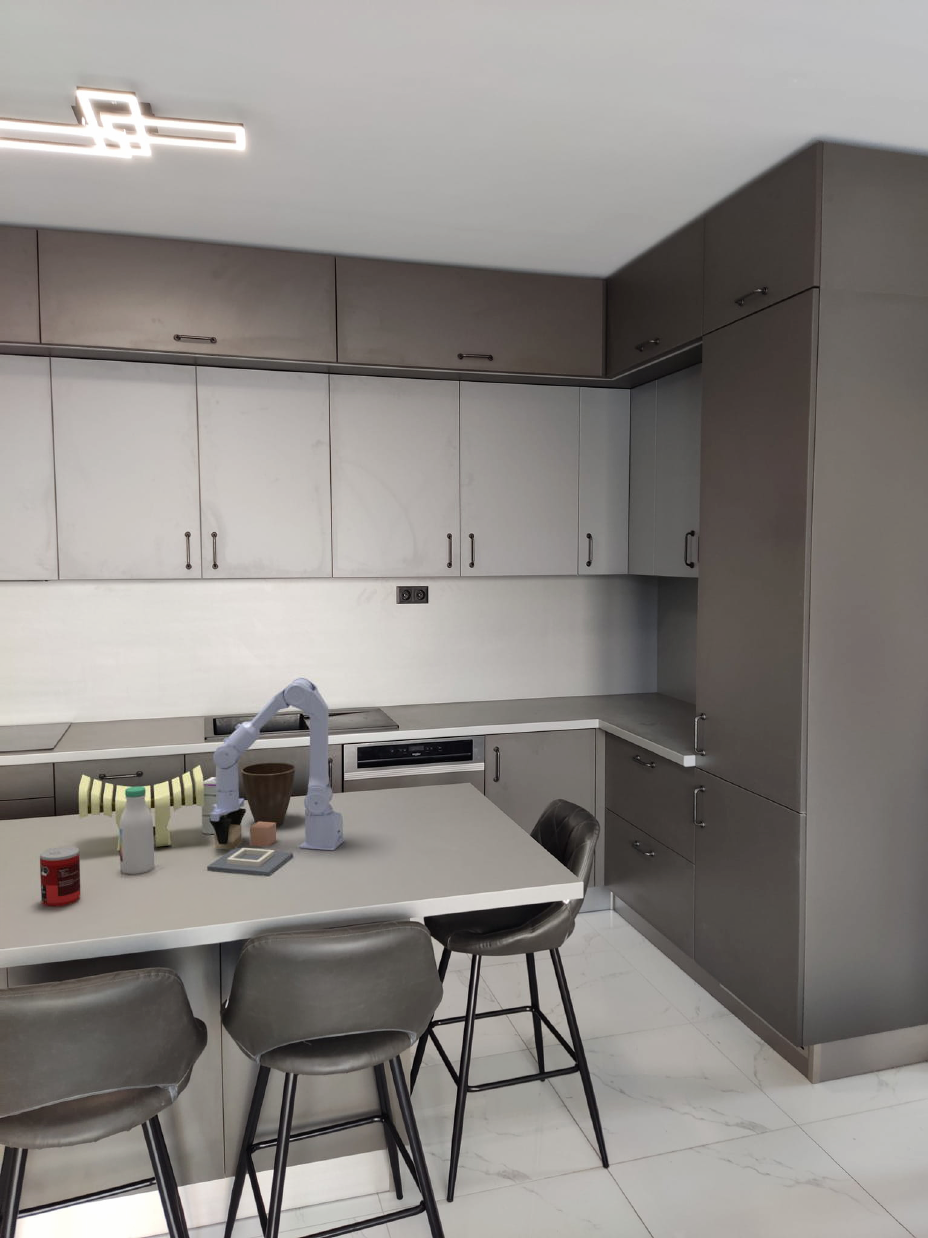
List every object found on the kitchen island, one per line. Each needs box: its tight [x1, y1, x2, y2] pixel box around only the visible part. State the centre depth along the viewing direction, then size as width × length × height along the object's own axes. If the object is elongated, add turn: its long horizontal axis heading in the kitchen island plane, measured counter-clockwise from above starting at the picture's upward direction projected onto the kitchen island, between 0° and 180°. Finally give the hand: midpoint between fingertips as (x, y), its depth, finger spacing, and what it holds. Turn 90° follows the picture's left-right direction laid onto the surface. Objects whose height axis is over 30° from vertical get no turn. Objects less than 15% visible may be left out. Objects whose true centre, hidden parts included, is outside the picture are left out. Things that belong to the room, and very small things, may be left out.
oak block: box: [214, 824, 243, 850], centre depth 229 cm, size 5×5×5 cm
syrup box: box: [201, 776, 226, 835], centre depth 241 cm, size 6×6×14 cm
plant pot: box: [241, 762, 296, 827], centre depth 248 cm, size 15×15×16 cm
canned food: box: [39, 845, 81, 908], centre depth 192 cm, size 8×8×11 cm
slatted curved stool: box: [78, 765, 204, 852], centre depth 231 cm, size 30×16×18 cm, turn 110°
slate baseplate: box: [206, 847, 294, 877], centre depth 216 cm, size 16×14×2 cm
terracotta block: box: [249, 822, 277, 847], centre depth 231 cm, size 5×5×5 cm
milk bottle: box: [118, 785, 155, 875], centre depth 211 cm, size 8×8×20 cm
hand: (228, 840), depth 229 cm, fingers open, 5 cm apart
